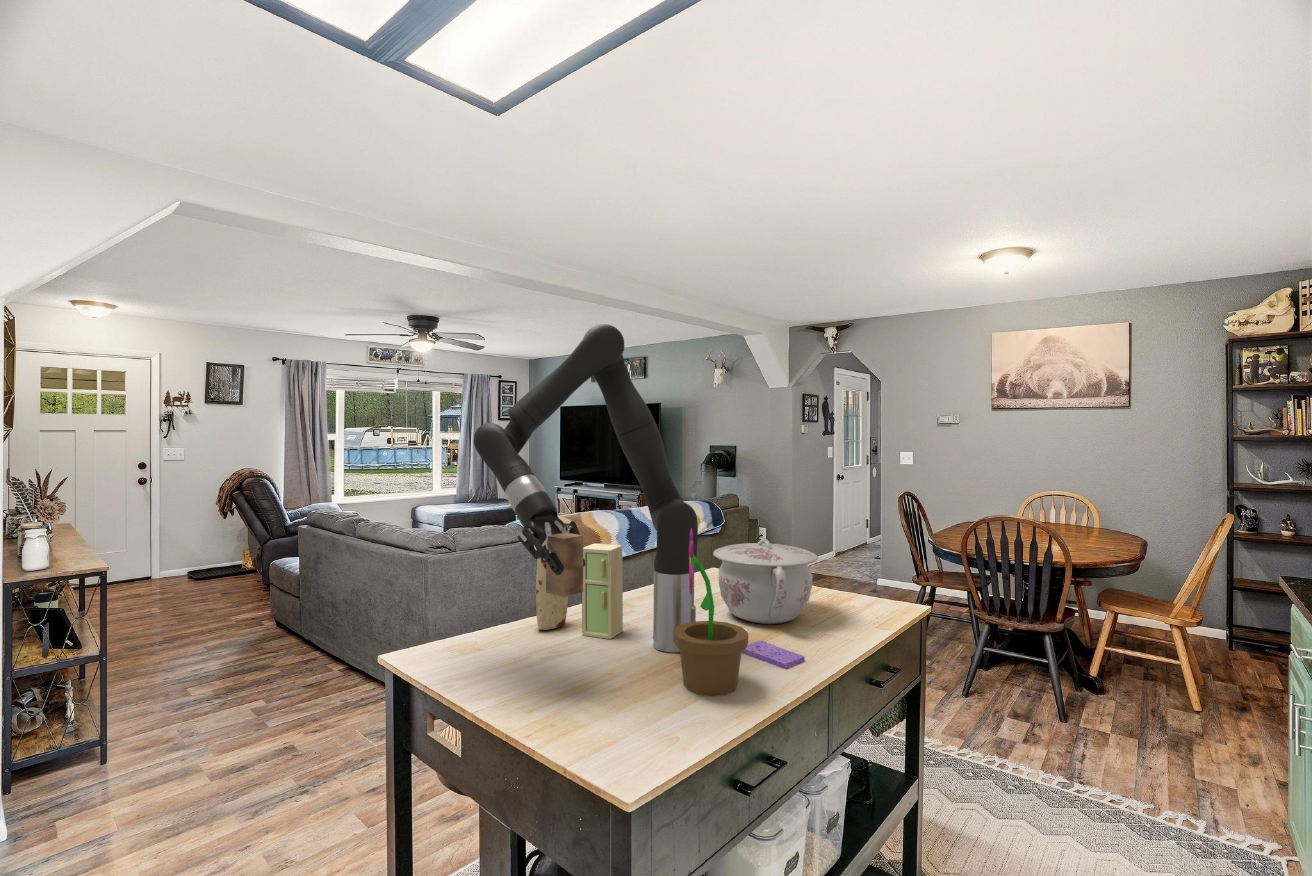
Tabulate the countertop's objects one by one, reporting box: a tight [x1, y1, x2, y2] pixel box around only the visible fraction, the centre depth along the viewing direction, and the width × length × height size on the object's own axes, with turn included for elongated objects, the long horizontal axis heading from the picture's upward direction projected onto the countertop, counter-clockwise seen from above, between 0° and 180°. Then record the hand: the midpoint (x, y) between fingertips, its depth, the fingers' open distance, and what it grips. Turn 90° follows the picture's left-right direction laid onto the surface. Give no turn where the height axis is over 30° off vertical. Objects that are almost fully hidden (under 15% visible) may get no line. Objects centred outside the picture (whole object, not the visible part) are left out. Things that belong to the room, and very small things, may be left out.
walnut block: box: [546, 533, 584, 597], centre depth 120 cm, size 5×5×11 cm
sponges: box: [741, 639, 806, 670], centre depth 135 cm, size 7×13×2 cm, turn 40°
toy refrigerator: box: [581, 543, 624, 640], centre depth 149 cm, size 8×7×21 cm
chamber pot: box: [712, 538, 819, 625], centre depth 164 cm, size 28×28×21 cm
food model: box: [535, 558, 570, 631], centre depth 153 cm, size 10×7×20 cm
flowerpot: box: [673, 528, 749, 697], centre depth 119 cm, size 14×14×30 cm
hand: (571, 569), depth 119 cm, fingers closed on walnut block, 5 cm apart
